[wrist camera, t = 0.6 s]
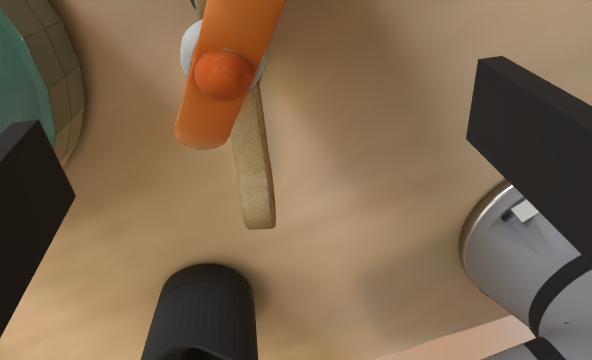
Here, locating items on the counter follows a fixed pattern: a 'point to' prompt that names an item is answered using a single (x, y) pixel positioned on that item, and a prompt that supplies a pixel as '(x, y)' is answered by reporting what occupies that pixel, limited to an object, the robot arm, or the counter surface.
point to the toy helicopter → (231, 94)
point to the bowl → (40, 73)
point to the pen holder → (203, 317)
